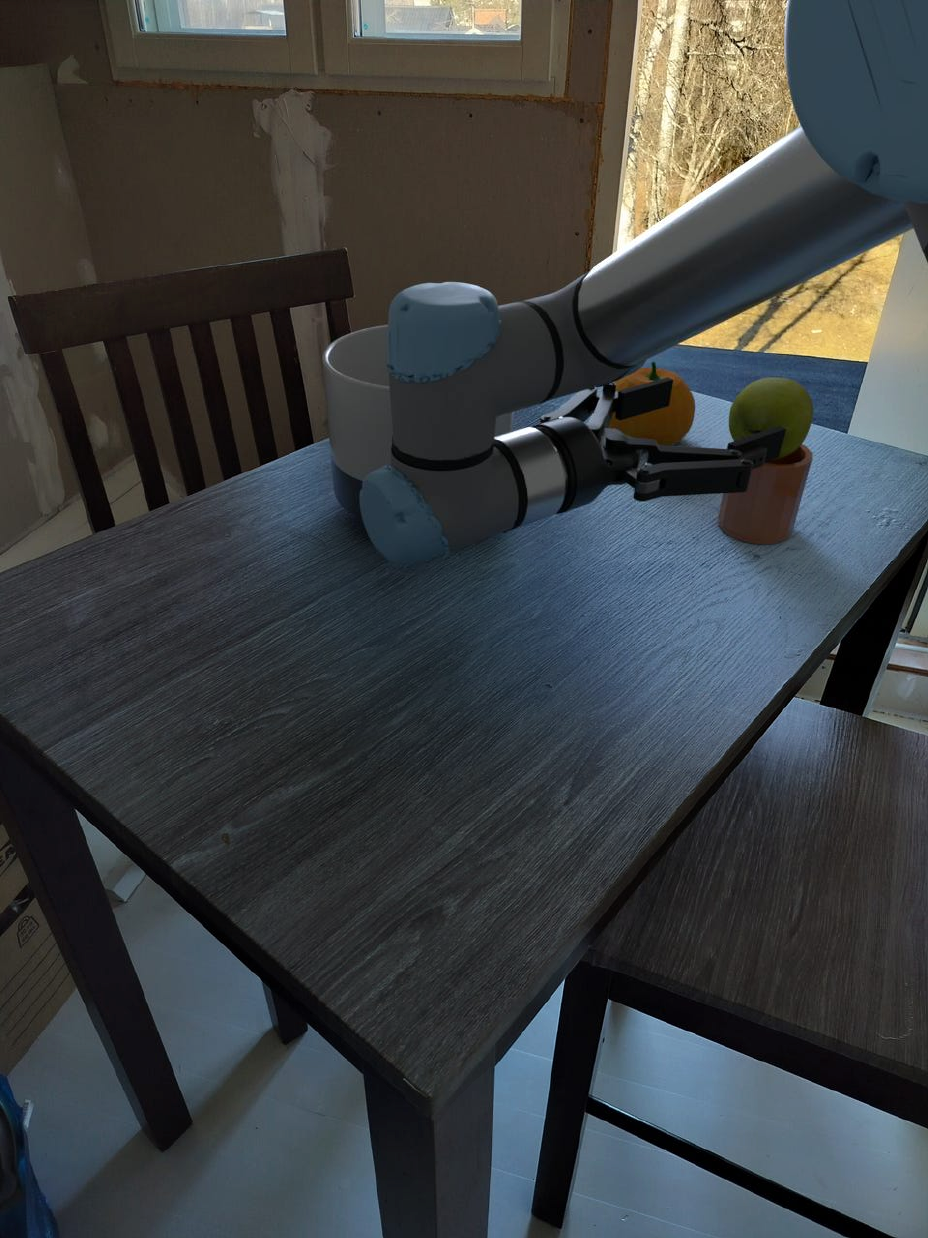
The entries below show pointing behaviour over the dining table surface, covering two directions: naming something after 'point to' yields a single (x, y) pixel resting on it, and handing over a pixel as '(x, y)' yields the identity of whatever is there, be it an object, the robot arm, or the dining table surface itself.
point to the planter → (362, 411)
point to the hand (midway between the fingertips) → (721, 415)
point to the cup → (767, 500)
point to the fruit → (663, 422)
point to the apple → (772, 411)
